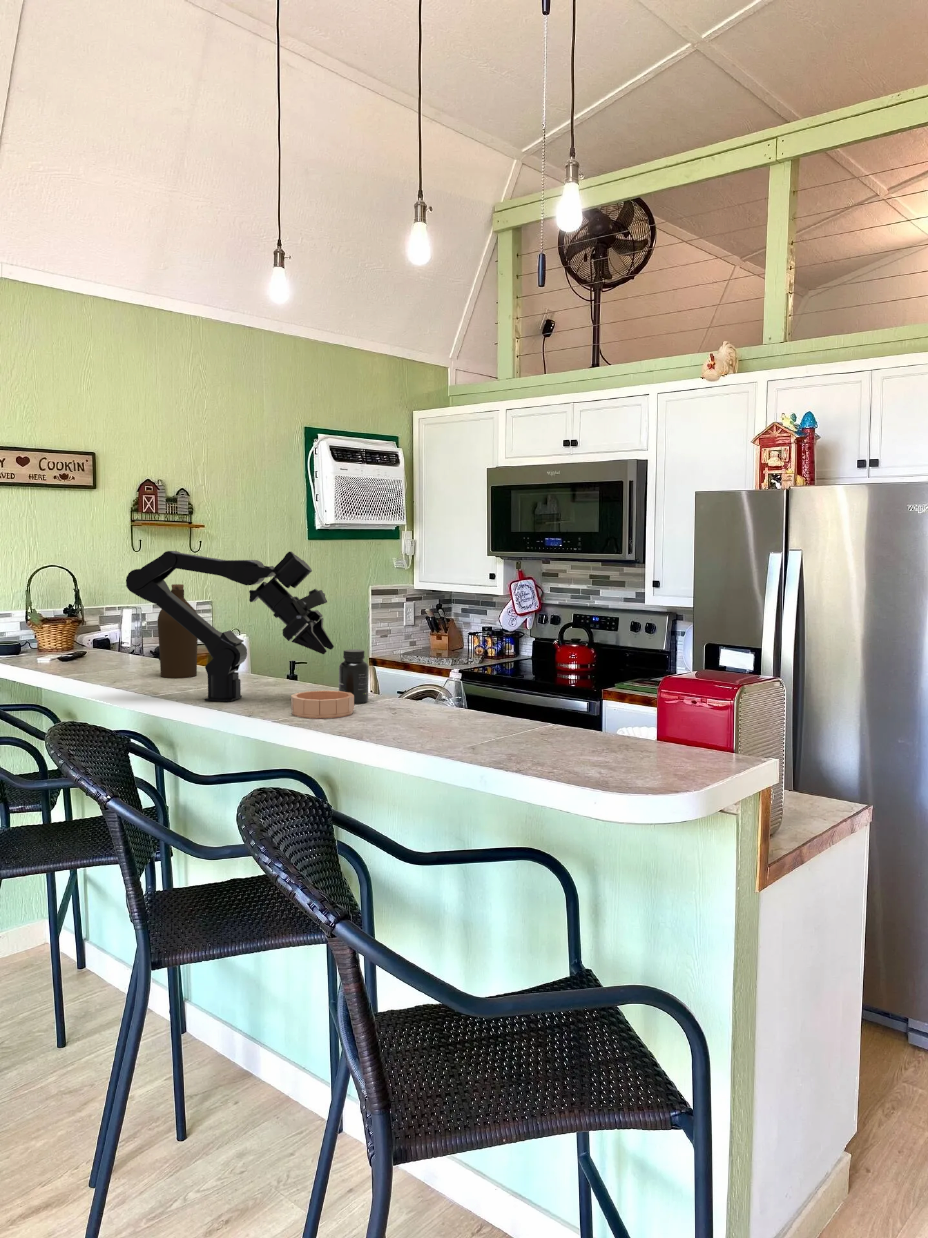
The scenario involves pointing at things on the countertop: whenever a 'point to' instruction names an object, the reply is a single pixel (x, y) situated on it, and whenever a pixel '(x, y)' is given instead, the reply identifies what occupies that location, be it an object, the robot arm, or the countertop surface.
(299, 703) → the terracotta bowl
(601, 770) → the countertop surface
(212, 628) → the robot arm
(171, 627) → the olive oil
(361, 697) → the supplement bottle
